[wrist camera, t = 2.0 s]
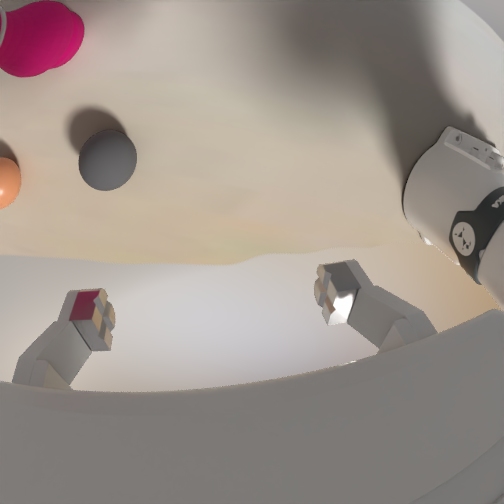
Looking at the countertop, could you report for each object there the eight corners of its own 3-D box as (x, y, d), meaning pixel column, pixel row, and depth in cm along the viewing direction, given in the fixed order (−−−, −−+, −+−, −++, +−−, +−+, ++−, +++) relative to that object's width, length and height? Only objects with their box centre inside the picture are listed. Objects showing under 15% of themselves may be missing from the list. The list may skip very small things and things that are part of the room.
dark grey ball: (135, 117, 23) (120, 130, 19) (147, 169, 27) (137, 193, 22) (84, 133, 23) (61, 150, 18) (99, 182, 26) (81, 207, 22)
